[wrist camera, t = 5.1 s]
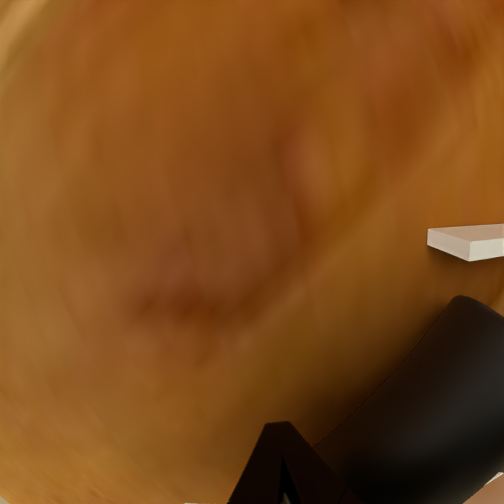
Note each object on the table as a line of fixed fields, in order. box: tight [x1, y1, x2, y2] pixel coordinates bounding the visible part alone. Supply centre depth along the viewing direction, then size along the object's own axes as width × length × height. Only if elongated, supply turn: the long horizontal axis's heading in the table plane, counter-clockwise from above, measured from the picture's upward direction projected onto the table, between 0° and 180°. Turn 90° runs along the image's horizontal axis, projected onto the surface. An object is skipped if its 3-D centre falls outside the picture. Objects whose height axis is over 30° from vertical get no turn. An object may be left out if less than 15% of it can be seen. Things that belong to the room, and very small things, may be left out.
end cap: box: [284, 295, 504, 504], centre depth 8 cm, size 10×7×7 cm
